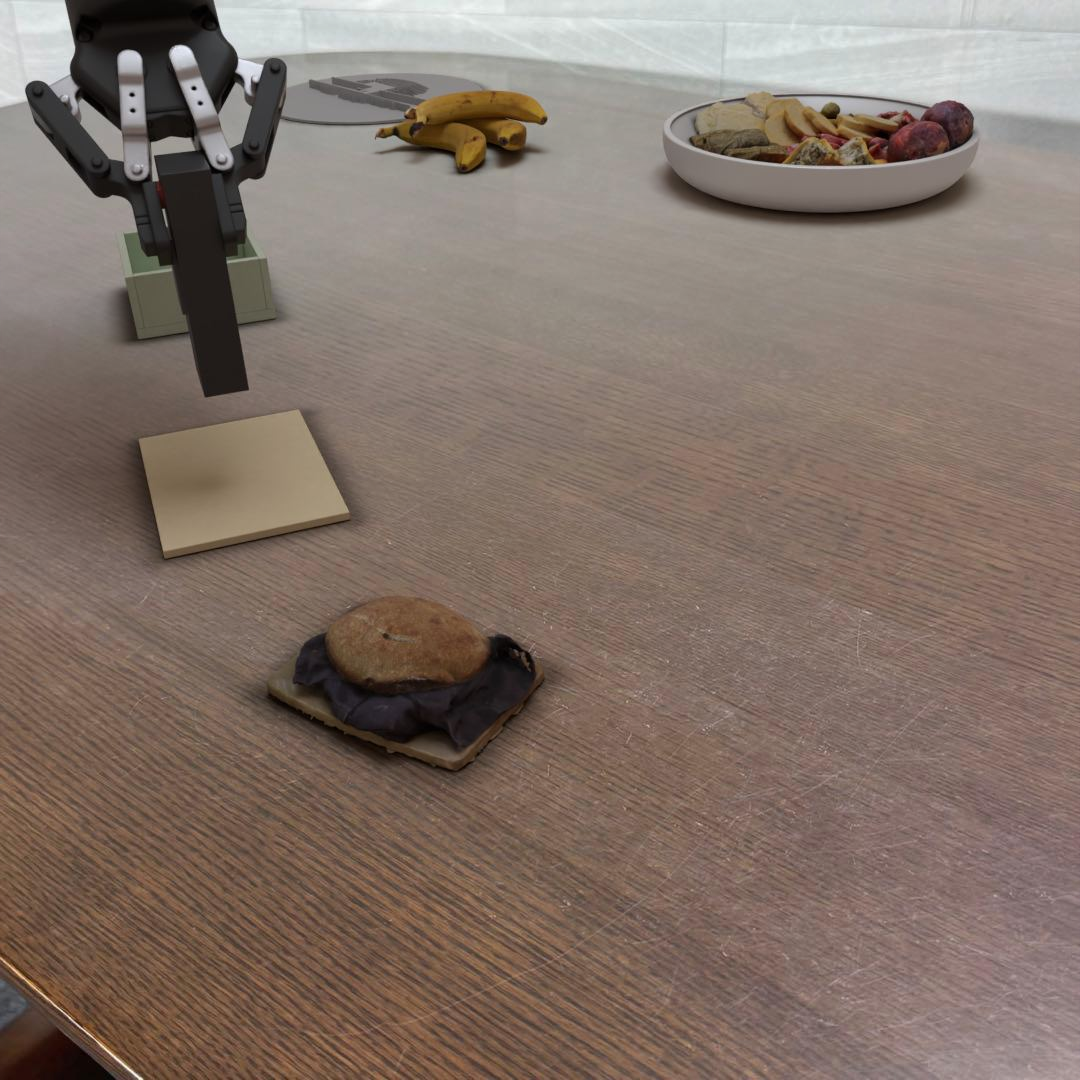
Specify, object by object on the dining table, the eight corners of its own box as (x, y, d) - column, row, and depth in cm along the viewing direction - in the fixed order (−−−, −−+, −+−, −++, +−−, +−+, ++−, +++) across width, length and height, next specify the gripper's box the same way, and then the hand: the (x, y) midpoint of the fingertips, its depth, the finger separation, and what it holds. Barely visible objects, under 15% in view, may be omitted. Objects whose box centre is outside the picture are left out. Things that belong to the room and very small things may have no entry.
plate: (225, 99, 157) (224, 90, 157) (402, 67, 172) (401, 57, 171) (339, 137, 139) (338, 126, 138) (526, 96, 154) (526, 86, 153)
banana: (384, 138, 138) (379, 86, 134) (550, 135, 137) (548, 82, 134) (363, 175, 125) (357, 119, 122) (546, 172, 124) (545, 114, 121)
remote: (200, 398, 65) (155, 175, 58) (191, 370, 68) (148, 155, 62) (249, 390, 66) (210, 168, 59) (239, 362, 69) (201, 149, 62)
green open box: (138, 339, 89) (124, 277, 86) (128, 290, 98) (115, 232, 95) (276, 318, 92) (266, 257, 89) (254, 272, 101) (244, 215, 98)
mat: (350, 519, 66) (349, 511, 66) (164, 559, 63) (162, 551, 63) (299, 416, 77) (298, 408, 77) (139, 445, 74) (138, 438, 74)
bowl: (630, 212, 111) (631, 125, 107) (693, 133, 135) (696, 59, 131) (970, 234, 103) (986, 141, 99) (972, 146, 127) (985, 68, 123)
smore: (254, 702, 53) (240, 635, 51) (372, 605, 59) (364, 542, 57) (451, 786, 48) (443, 715, 46) (558, 670, 54) (555, 604, 52)
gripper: (-25, -81, 59) (41, 237, 56) (262, -99, 63) (339, 198, 59) (6, 20, 66) (66, 307, 63) (262, -2, 70) (331, 268, 66)
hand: (198, 252), depth 61 cm, fingers closed on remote, 2 cm apart
